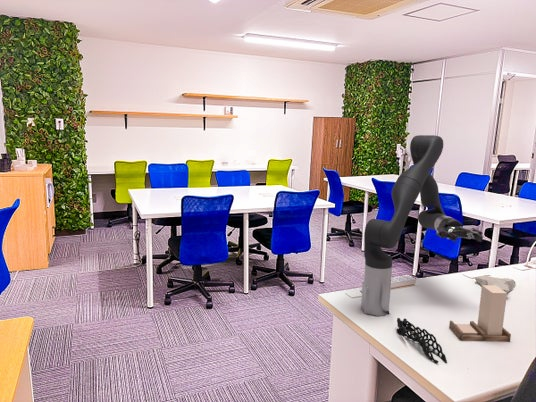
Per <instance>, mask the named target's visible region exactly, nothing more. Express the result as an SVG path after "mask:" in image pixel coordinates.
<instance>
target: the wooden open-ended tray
mask: <svg viewBox="0 0 536 402" xmlns="http://www.w3.org/2000/svg"><path fill="white" fill-rule="evenodd" d="M455 324H456V323H455V322H454V321H453V320H449V325H448V329H450V331H451V332H452V333H453V334H454V335H455V336H456V337H457V339H458V340H459V341H461V342H462V341H464V342H502V343H503V342H505V343H507V342H508V343H509V342H511V338H512V337H511V336H512V334H511V333H510V332H509V331H508V330H507V329H506V328H505V327H503V329H502V336H486V333H485V332H484V331H483V330H482V329H481V328H480V327H479V326H478V325H477V324H478V323H476V322H475V321H473V320H470V321H469V325H470V326H471V327H472V328H473V329H474V330H475V331H476V332H477V333H478V335H463V332H462V331H461V330H460V329H459V328H458V327H457V326H456V325H455Z"/></svg>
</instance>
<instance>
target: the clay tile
mask: <svg viewBox="0 0 536 402" xmlns="http://www.w3.org/2000/svg"><path fill="white" fill-rule="evenodd" d="M455 325H456V326H457V327H458V328H459V329H460V330H461V331H462V332H463V335H478V333H477V332H476V331H475V330H474V329H473V328H472V327H471V326H470V323H455Z"/></svg>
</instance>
